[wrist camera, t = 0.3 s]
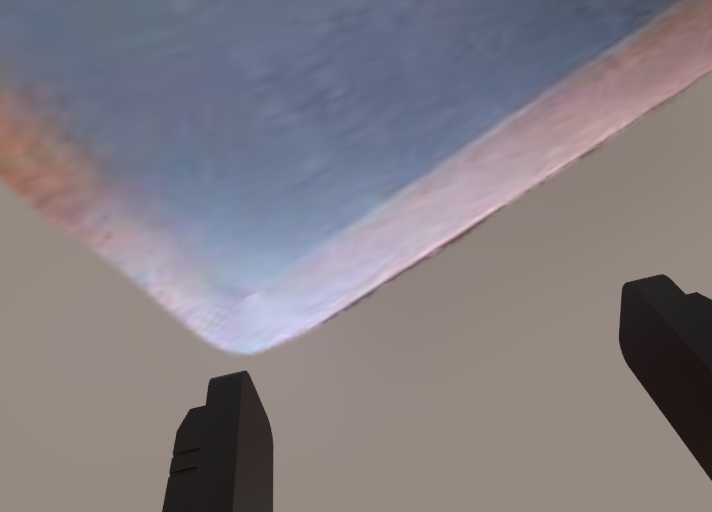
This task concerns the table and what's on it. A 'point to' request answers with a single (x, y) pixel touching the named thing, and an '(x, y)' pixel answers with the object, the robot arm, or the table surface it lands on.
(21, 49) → the table surface
